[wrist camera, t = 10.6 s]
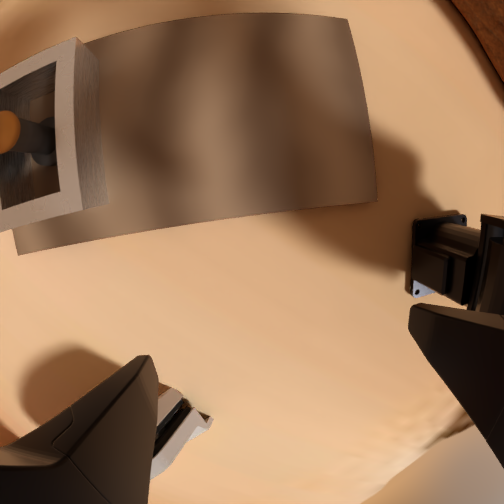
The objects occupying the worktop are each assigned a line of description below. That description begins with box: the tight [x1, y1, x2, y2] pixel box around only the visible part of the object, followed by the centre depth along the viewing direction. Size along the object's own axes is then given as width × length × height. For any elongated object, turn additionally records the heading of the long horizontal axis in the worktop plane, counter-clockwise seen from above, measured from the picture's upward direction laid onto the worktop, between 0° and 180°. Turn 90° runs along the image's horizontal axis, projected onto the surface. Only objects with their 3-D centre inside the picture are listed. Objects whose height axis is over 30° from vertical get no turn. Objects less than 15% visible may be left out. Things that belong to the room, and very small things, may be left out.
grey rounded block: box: [150, 387, 214, 480], centre depth 18 cm, size 17×5×10 cm, turn 131°
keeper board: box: [0, 13, 377, 255], centre depth 13 cm, size 26×14×8 cm, turn 97°
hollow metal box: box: [0, 37, 109, 232], centre depth 13 cm, size 7×10×4 cm
